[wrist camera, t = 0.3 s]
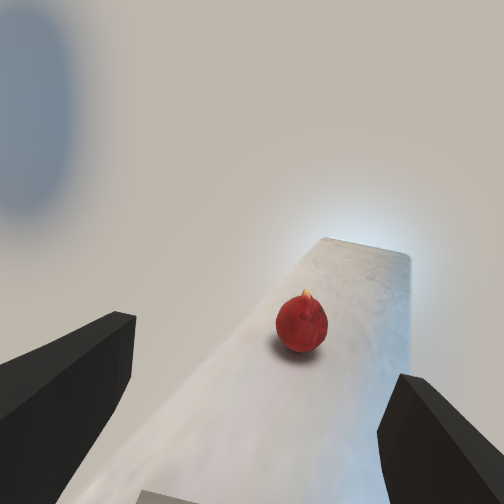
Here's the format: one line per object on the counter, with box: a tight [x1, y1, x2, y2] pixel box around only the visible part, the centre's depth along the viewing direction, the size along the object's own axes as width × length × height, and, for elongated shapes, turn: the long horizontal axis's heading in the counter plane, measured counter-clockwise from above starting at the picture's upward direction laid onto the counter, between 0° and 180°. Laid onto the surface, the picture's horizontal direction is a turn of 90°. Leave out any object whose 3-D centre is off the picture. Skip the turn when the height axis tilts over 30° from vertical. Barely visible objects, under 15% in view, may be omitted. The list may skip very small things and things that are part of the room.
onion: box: [276, 289, 328, 352], centre depth 42 cm, size 6×6×8 cm
